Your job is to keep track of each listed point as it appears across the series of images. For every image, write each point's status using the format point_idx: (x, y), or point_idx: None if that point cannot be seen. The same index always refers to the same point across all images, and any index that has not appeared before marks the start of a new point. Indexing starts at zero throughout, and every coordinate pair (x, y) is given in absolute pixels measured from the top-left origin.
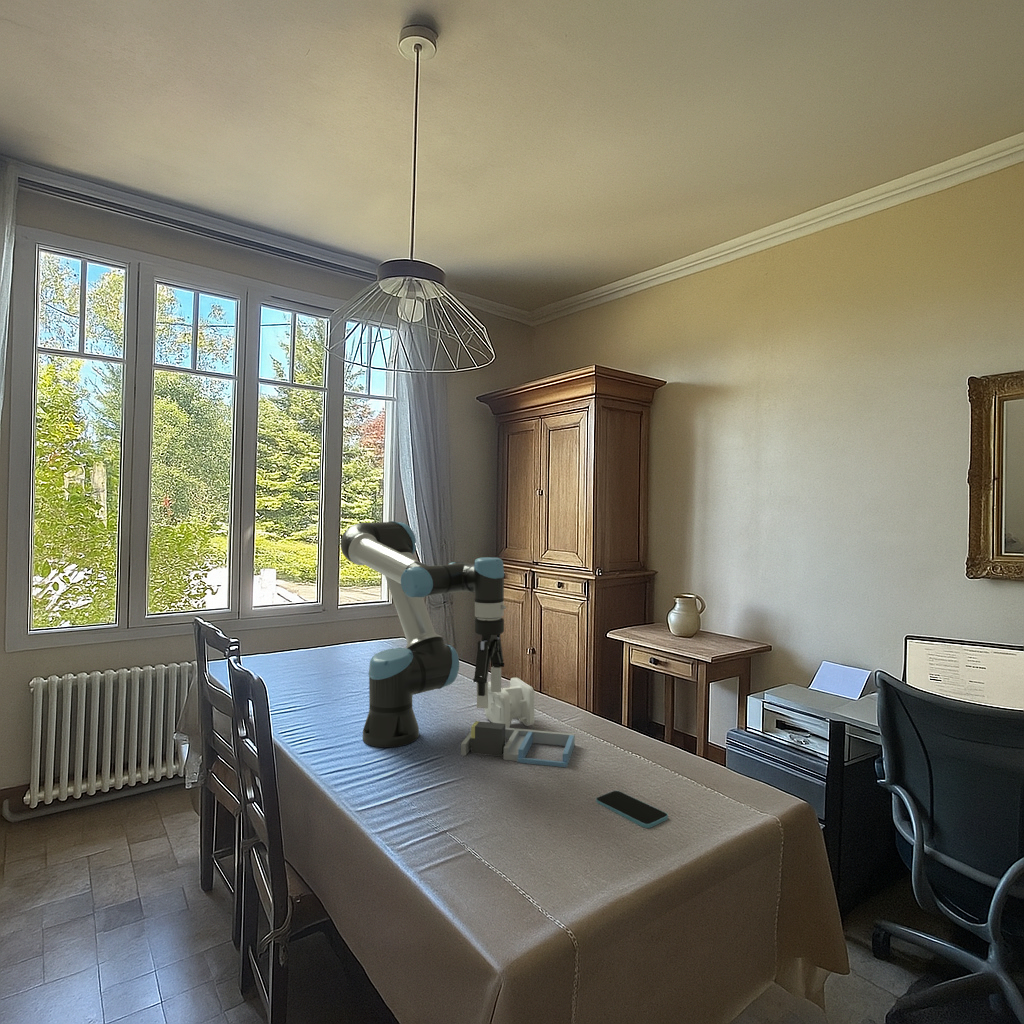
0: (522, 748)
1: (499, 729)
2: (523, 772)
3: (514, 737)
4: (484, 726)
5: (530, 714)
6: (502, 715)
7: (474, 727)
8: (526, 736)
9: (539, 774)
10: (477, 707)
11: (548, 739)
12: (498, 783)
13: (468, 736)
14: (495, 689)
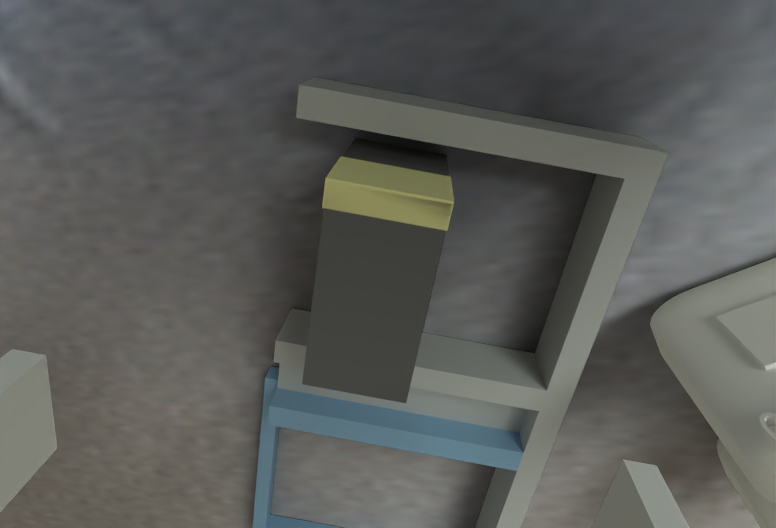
0: (282, 422)
1: (305, 369)
2: (174, 386)
3: (428, 390)
4: (339, 276)
5: (743, 490)
6: (704, 354)
7: (323, 202)
8: (446, 443)
9: (172, 439)
10: (10, 356)
11: (491, 504)
12: (39, 294)
13: (433, 122)
14: (614, 526)
